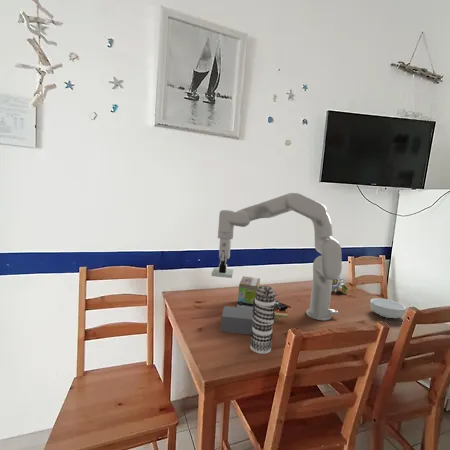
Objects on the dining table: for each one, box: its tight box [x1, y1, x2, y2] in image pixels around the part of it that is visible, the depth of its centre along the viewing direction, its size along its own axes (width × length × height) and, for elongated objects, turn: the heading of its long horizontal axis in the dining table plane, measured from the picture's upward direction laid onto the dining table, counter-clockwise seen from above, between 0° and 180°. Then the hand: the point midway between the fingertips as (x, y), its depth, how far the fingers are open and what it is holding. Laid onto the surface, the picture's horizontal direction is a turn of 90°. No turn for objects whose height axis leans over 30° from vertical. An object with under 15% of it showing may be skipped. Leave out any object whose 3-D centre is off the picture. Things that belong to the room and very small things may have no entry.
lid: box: [211, 263, 234, 279], centre depth 151 cm, size 10×10×5 cm
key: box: [273, 311, 289, 322], centre depth 147 cm, size 11×2×3 cm, turn 85°
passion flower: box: [331, 275, 350, 296], centre depth 197 cm, size 13×12×14 cm
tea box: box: [236, 275, 261, 309], centre depth 161 cm, size 15×10×15 cm
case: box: [220, 305, 255, 336], centre depth 136 cm, size 17×12×7 cm
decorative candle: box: [249, 285, 277, 355], centre depth 119 cm, size 9×9×25 cm
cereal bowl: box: [369, 297, 407, 319], centre depth 162 cm, size 17×17×7 cm
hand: (222, 270), depth 151 cm, fingers closed on lid, 4 cm apart
